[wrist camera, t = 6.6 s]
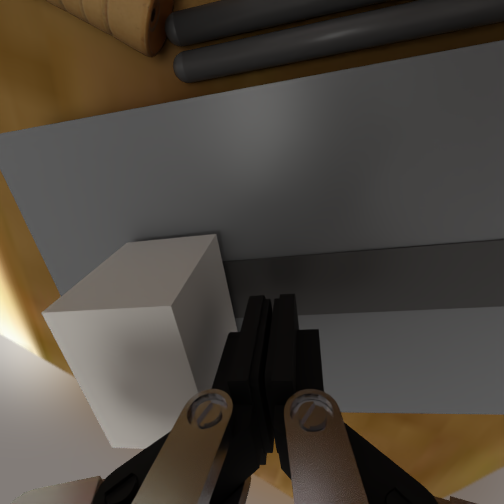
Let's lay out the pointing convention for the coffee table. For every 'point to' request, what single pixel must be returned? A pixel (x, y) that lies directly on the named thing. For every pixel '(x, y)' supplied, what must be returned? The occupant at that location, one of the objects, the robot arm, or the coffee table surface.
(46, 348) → the coffee table surface
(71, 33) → the coffee table surface
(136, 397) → the breaker knob
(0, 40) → the coffee table surface
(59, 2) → the kendama
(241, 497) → the robot arm
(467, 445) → the coffee table surface
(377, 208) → the switch panel
